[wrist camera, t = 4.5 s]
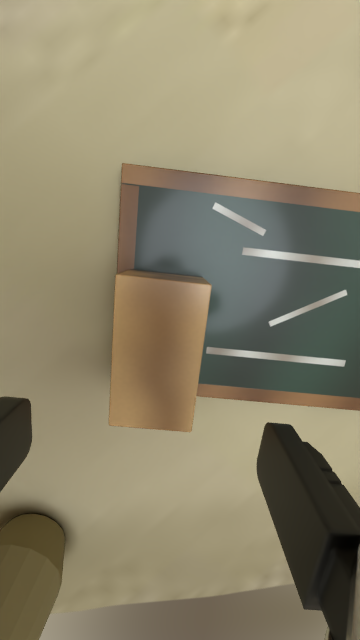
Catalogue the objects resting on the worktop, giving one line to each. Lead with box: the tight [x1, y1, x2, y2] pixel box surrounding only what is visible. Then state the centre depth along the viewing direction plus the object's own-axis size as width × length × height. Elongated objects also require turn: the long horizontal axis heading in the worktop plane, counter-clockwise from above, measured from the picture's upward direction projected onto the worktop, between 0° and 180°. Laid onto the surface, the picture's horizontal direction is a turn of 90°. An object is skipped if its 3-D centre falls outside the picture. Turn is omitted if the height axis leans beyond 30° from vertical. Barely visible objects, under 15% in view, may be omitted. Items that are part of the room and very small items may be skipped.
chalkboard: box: [117, 163, 360, 411], centre depth 19 cm, size 22×16×1 cm
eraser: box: [109, 269, 212, 432], centre depth 17 cm, size 5×9×5 cm, turn 174°
